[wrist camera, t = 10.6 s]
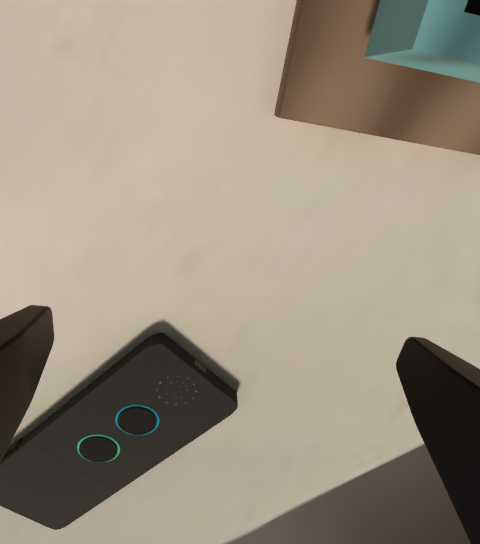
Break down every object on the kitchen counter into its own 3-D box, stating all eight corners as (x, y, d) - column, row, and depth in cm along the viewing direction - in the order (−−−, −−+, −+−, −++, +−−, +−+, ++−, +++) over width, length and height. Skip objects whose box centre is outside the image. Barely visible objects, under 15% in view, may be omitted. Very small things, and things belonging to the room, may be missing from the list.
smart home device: (243, 410, 25) (58, 534, 30) (241, 391, 27) (66, 512, 32) (154, 339, 22) (-36, 491, 27) (158, 323, 24) (-23, 469, 29)
